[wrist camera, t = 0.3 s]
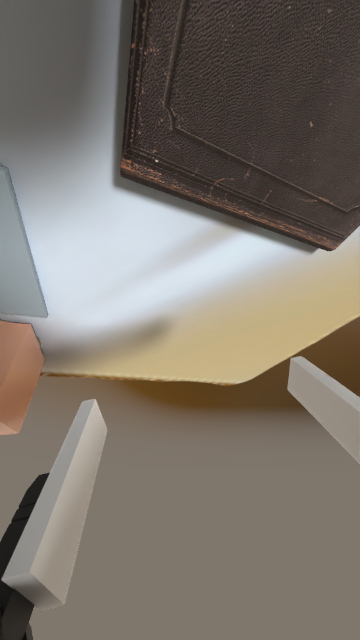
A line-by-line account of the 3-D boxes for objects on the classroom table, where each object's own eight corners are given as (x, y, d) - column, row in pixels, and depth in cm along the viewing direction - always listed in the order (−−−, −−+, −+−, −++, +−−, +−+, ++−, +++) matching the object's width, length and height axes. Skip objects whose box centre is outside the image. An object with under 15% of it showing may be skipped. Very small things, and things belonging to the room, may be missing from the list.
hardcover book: (215, -901, 3) (274, -1676, 2) (545, 0, 11) (606, -15, 10) (121, 171, 14) (119, 179, 13) (318, 244, 22) (330, 254, 21)
